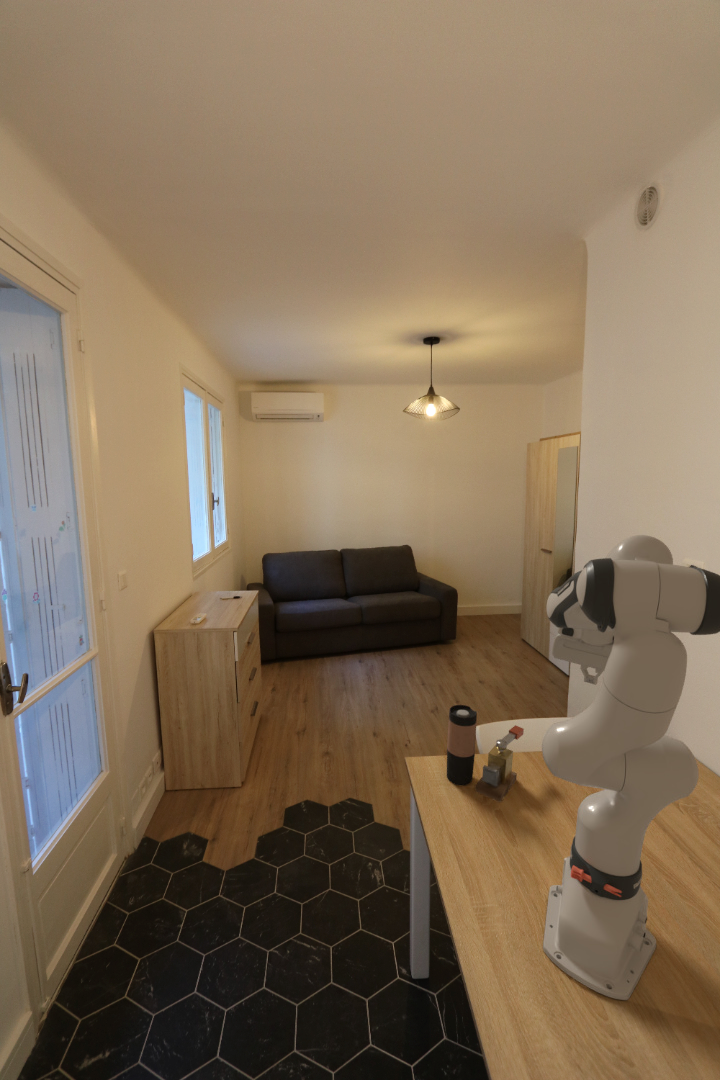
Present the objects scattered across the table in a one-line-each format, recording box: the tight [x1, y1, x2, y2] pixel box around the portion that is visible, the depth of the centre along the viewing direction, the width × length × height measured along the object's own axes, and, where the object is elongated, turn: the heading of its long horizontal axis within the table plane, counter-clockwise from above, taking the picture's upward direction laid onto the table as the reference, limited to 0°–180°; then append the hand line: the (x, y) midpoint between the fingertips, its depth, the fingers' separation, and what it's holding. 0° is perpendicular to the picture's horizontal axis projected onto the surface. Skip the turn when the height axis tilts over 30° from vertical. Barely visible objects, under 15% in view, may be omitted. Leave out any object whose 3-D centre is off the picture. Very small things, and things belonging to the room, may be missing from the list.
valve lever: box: [495, 725, 525, 750], centre depth 136 cm, size 12×3×2 cm, turn 136°
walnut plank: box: [474, 771, 518, 803], centre depth 132 cm, size 12×7×2 cm, turn 143°
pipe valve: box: [481, 744, 514, 788], centre depth 131 cm, size 11×5×8 cm, turn 143°
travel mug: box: [446, 704, 478, 787], centre depth 134 cm, size 8×8×20 cm
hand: (590, 682), depth 127 cm, fingers closed
